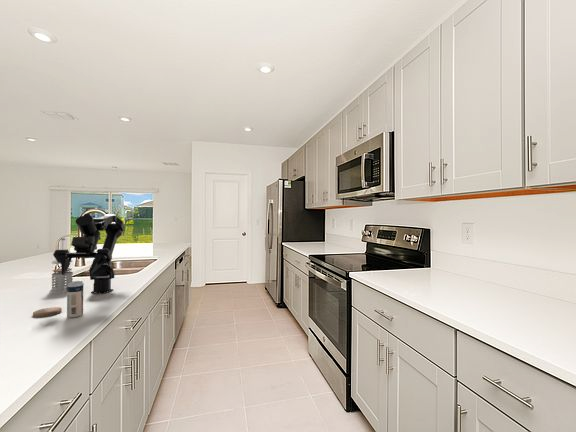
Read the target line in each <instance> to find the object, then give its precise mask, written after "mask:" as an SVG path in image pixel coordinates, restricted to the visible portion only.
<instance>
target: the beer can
mask: <svg viewBox="0 0 576 432" xmlns="http://www.w3.org/2000/svg"><path fill="white" fill-rule="evenodd" d="M83 315H84V282H83V281H82V280H81V281H80V280H76V281H73V282H70V283H68V285H67V292H66V317H68V318H69V319H73V318H74V319H75V318H79V317H81V316H83Z"/></svg>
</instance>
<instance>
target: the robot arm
mask: <svg viewBox="0 0 576 432" xmlns="http://www.w3.org/2000/svg"><path fill="white" fill-rule="evenodd" d="M75 224H76V226H77V228H78V230H79V232H80V234H82V236H73V237H72V240H71V244H70V245H71V247H73V250H74V251H75V252H70V251H69V250H68V249H64V248H63V250H62V249H55V250H54V252H53V254H52V255H53V257H54V258H55V259H54V260H57V262H58V263H61V264H60V265H61V267H60V269H61V270H62V275H64V274H65V273H66V271H67V269H68V268H70V265H71V262H70V261H71V260H73V259H93V260H92V263H91V265H90V266H89V272H88V273H89V279H90V281H93V287H92V288H93V290H92V291H91V292H90V293H92V294H106V293H109V292H112V291H114V289H113V288H112V287H111V285H112V280H113V279H115V277H116V276H115V274H116V273H115V270H114V268H113V265H112V259H113V252H114V249H115V245H116V244H117V243H116V242H117V239H119V238H120V237H122V235H123V232H125V224H124V221H123V220H122V219H120V218H119V217H118V216H117V214H114V213H109V214H108V213H107V214H106V213H105V214H104V215H103V216H99V217H92V215H91V213H84V214H83V215H81V216H78V217H77V218H76V219H75ZM103 231H105V234H106V236H105V240H104V243H103V245H102V247H101V248H98V243H99V241H100V240H101V239H102V238H101V232H103ZM95 250H96V252H95Z"/></svg>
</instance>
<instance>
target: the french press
mask: <svg viewBox="0 0 576 432" xmlns="http://www.w3.org/2000/svg"><path fill="white" fill-rule="evenodd" d="M60 241H61V242H62V246H61V248H62V249H61V250H64V241H66V238H65V237H60ZM72 262H74V260H73V259H71V261H70V263H72ZM51 264H56V265H57V264H60V265H61V263H58V262H57V260H56V259H54V260H52V261H51ZM52 271H53V273H51V289H50V290H49V291H48V292H49V293H51V294H58V293H67V285H68V283H70V282H74V281H73V279H74V278H73V277H74V276H73V273H74V272H73V271H72V268H71V267H68V269H67V271H66V273H65V274H64V275H62V270H61V268H57V269H54V270H52Z"/></svg>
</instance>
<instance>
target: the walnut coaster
mask: <svg viewBox="0 0 576 432" xmlns="http://www.w3.org/2000/svg"><path fill="white" fill-rule="evenodd" d="M62 310H63V308H62V307H61V306H60V307H59V306H58V307H57V306H55V307H53V306H51V307H45V308H40V309H38V310H35V311H34V312H32V317H33V318H45V317H46V318H47V317H53V316H56V315H59V314H60V313H62Z"/></svg>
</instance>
